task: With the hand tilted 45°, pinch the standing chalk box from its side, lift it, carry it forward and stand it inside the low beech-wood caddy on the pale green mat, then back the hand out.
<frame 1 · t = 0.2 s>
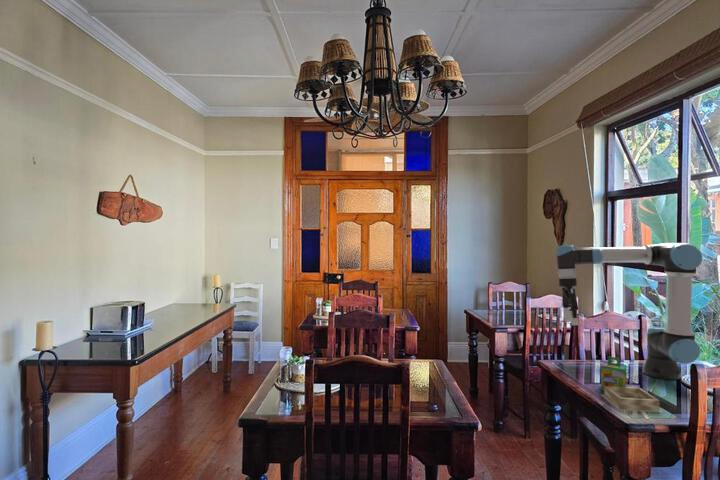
hand: (571, 323, 198), 27 cm above the table, tool pointing down, fingers open, 13 cm apart
caddy: (630, 402, 170), resting on mat
chalk box: (613, 392, 184), on the table
mat: (630, 404, 170), on the table
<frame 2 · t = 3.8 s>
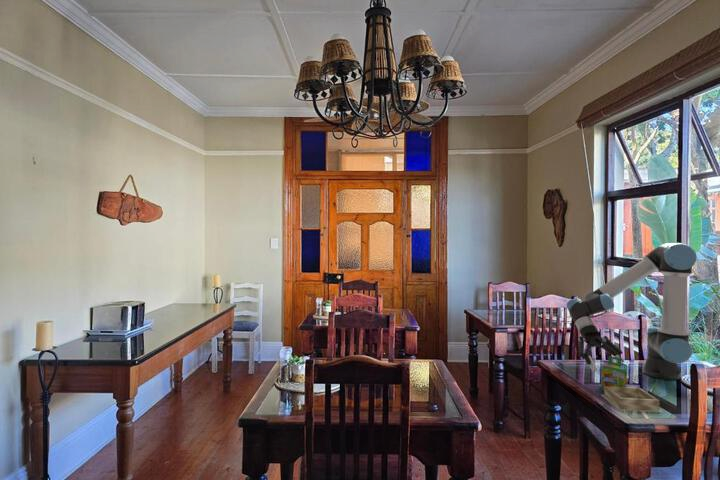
hand: (609, 370, 185), 9 cm above the table, tool tilted 45°, fingers open, 13 cm apart
chalk box: (613, 391, 184), on the table, touching gripper
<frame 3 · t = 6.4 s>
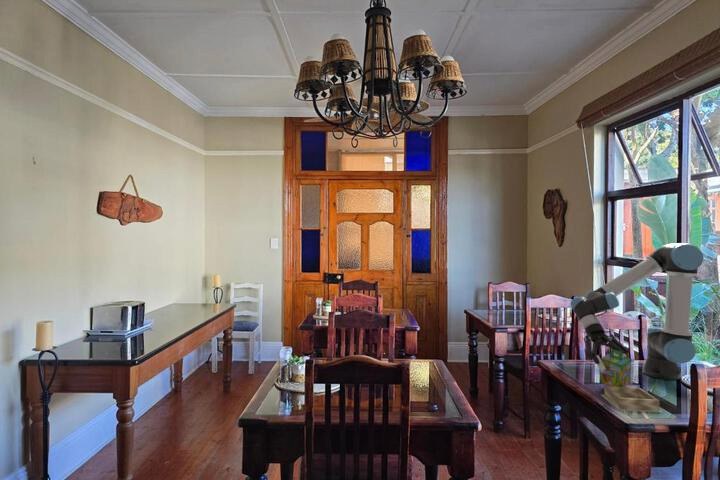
hand: (617, 369, 181), 10 cm above the table, tool tilted 45°, fingers closed on chalk box, 12 cm apart
chalk box: (615, 383, 184), point 4 cm above the table, touching gripper
when the fingers open (10 cm above the table, at t = 12.0 s): chalk box stays where it is, resting on caddy.
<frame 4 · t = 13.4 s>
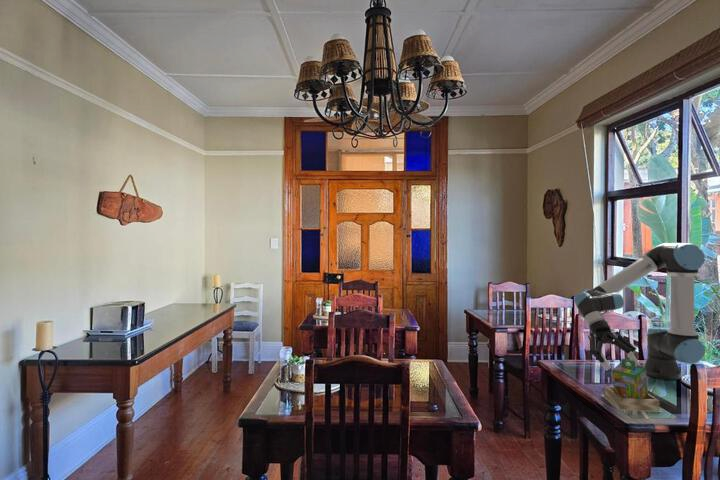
hand: (623, 368, 173), 14 cm above the table, tool tilted 45°, fingers open, 13 cm apart
chalk box: (631, 395, 170), point 3 cm above the table, touching caddy
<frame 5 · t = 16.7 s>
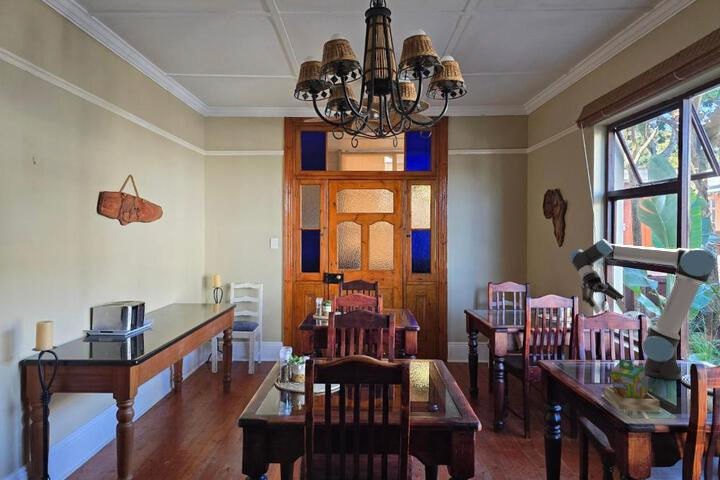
hand: (611, 311, 196), 33 cm above the table, tool tilted 45°, fingers open, 13 cm apart
nothing on the table moved.
at the end: chalk box 0.8 cm off-centre on the caddy, point 3.0 cm above the caddy's base; chalk box tilted 18°; the gripper is holding nothing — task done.
